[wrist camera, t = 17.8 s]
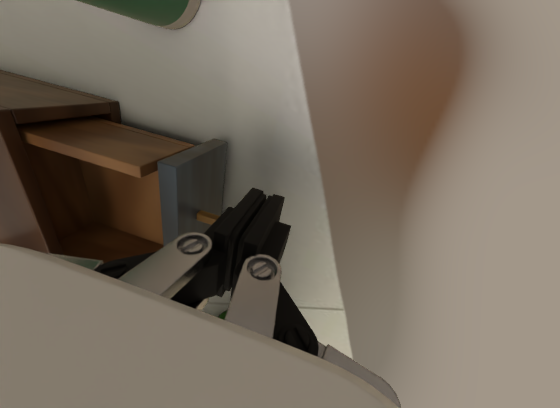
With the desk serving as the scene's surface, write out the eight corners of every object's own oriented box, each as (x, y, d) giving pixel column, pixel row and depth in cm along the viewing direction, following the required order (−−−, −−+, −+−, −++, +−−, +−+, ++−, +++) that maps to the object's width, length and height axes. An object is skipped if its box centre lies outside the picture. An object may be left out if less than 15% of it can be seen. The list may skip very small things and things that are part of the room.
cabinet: (118, 101, 20) (-10, 110, 13) (137, 235, 27) (63, 288, 20) (-27, 62, 22) (-210, 51, 14) (28, 197, 29) (-76, 234, 22)
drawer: (287, 158, 17) (260, 192, 12) (260, 280, 24) (235, 338, 19) (71, 99, 20) (-36, 104, 14) (101, 225, 26) (37, 262, 21)
